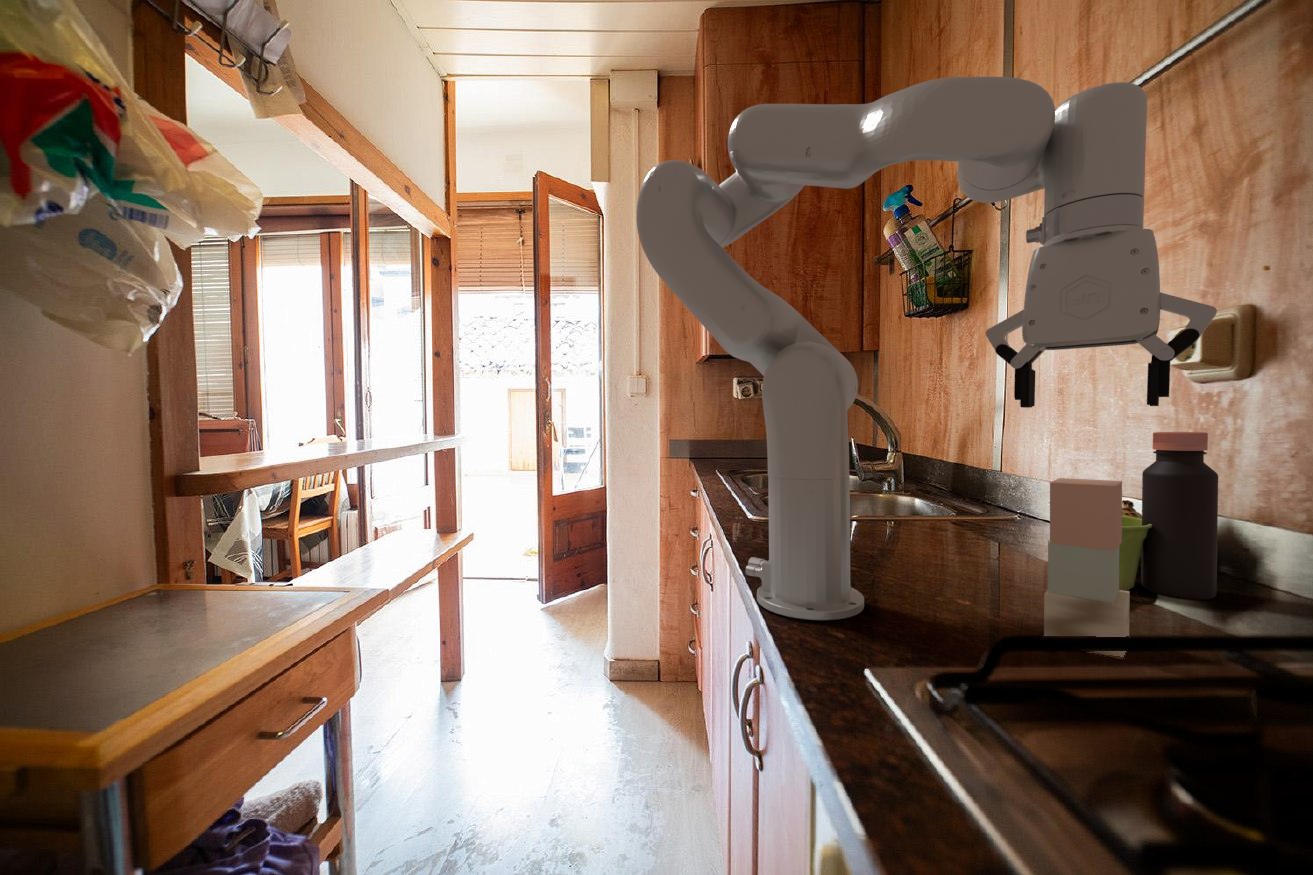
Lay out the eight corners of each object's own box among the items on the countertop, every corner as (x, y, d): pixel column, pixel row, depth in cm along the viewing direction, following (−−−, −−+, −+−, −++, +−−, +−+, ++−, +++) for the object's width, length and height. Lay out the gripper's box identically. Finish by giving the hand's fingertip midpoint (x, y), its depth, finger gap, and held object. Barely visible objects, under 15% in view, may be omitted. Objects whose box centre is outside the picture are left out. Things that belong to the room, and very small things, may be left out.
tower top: (1047, 592, 54) (1048, 542, 53) (1057, 581, 57) (1057, 534, 57) (1113, 603, 50) (1113, 550, 50) (1119, 591, 54) (1119, 541, 53)
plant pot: (1171, 597, 66) (1172, 526, 65) (1083, 594, 67) (1083, 525, 67) (1121, 575, 75) (1122, 513, 74) (1045, 573, 77) (1045, 512, 76)
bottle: (1183, 584, 71) (1185, 431, 70) (1233, 601, 64) (1236, 432, 63) (1127, 583, 71) (1128, 432, 71) (1171, 600, 65) (1173, 433, 64)
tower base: (1044, 643, 54) (1044, 593, 53) (1054, 626, 58) (1055, 579, 58) (1123, 661, 49) (1124, 607, 49) (1129, 641, 54) (1129, 591, 53)
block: (1049, 542, 53) (1049, 482, 53) (1059, 534, 57) (1059, 478, 57) (1115, 550, 50) (1116, 486, 50) (1121, 541, 53) (1122, 481, 53)
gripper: (979, 241, 55) (975, 407, 56) (1222, 191, 43) (1214, 404, 44) (997, 256, 61) (994, 408, 61) (1219, 215, 49) (1211, 405, 49)
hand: (1086, 406), depth 53 cm, fingers open, 9 cm apart
